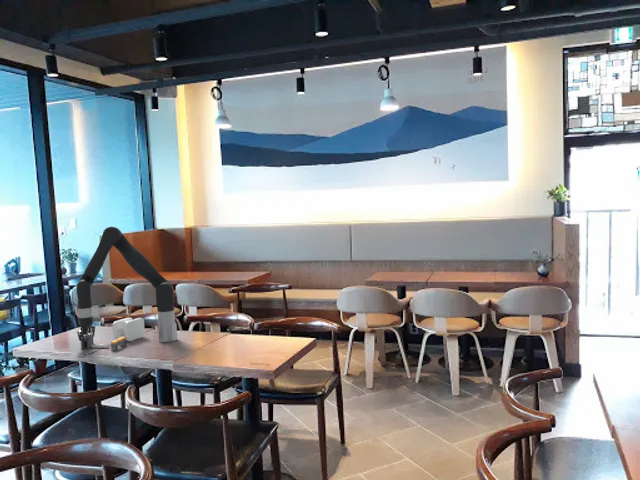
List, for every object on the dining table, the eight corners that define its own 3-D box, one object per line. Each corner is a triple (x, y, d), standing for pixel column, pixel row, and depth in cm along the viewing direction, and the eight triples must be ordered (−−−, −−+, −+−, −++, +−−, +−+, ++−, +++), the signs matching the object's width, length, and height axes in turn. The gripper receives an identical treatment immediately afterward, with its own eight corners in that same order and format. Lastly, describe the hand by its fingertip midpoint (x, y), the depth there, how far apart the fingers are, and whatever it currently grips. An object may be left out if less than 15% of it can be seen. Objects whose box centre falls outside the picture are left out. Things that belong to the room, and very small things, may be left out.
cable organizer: (127, 343, 295) (125, 322, 295) (112, 341, 299) (111, 321, 298) (145, 336, 309) (144, 317, 308) (131, 335, 313) (129, 316, 312)
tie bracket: (126, 345, 290) (126, 336, 290) (115, 350, 279) (115, 342, 279) (122, 345, 290) (122, 336, 290) (111, 350, 279) (110, 342, 279)
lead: (110, 346, 287) (110, 336, 287) (106, 348, 283) (106, 337, 283) (85, 346, 290) (84, 336, 289) (81, 348, 286) (80, 337, 285)
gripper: (84, 318, 279) (86, 350, 280) (99, 313, 293) (100, 343, 294) (71, 318, 280) (73, 350, 281) (86, 313, 294) (88, 343, 295)
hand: (87, 346), depth 287 cm, fingers closed on lead, 4 cm apart
